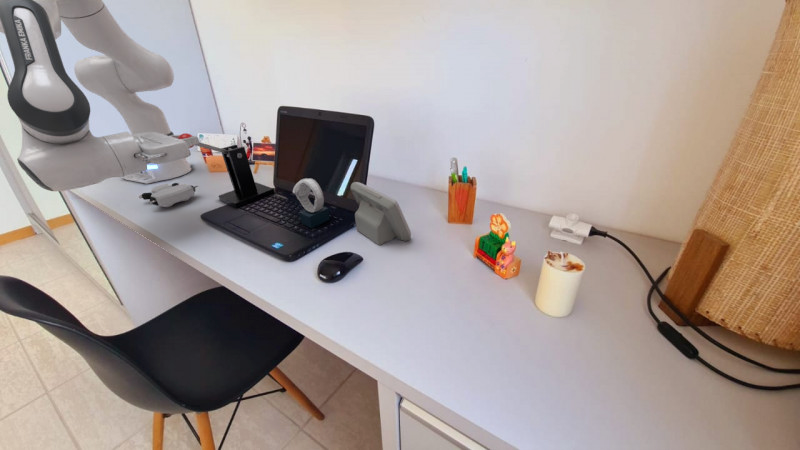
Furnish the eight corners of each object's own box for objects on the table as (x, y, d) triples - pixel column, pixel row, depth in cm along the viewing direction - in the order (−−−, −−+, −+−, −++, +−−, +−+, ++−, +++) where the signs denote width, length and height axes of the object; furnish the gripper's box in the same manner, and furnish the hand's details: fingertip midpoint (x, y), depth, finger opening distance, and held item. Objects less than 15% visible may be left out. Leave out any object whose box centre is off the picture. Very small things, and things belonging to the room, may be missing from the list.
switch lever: (180, 146, 78) (183, 132, 78) (174, 144, 80) (177, 130, 80) (240, 162, 91) (243, 150, 91) (234, 160, 93) (237, 148, 93)
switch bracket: (236, 208, 90) (219, 156, 83) (219, 200, 96) (201, 151, 89) (274, 193, 98) (261, 144, 91) (257, 186, 104) (243, 140, 97)
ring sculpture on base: (314, 212, 85) (306, 173, 80) (334, 221, 80) (327, 179, 75) (296, 221, 82) (286, 180, 76) (316, 230, 77) (306, 187, 71)
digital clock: (415, 242, 70) (413, 197, 65) (376, 254, 67) (371, 208, 62) (383, 213, 83) (379, 173, 78) (349, 222, 80) (343, 181, 74)
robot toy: (140, 206, 97) (160, 214, 89) (132, 192, 95) (152, 199, 87) (182, 191, 106) (204, 197, 98) (176, 178, 104) (198, 183, 95)
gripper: (136, 145, 65) (207, 129, 74) (109, 134, 77) (172, 122, 86) (150, 175, 68) (216, 156, 77) (122, 160, 80) (182, 145, 89)
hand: (193, 138), depth 82 cm, fingers closed on switch lever, 3 cm apart
